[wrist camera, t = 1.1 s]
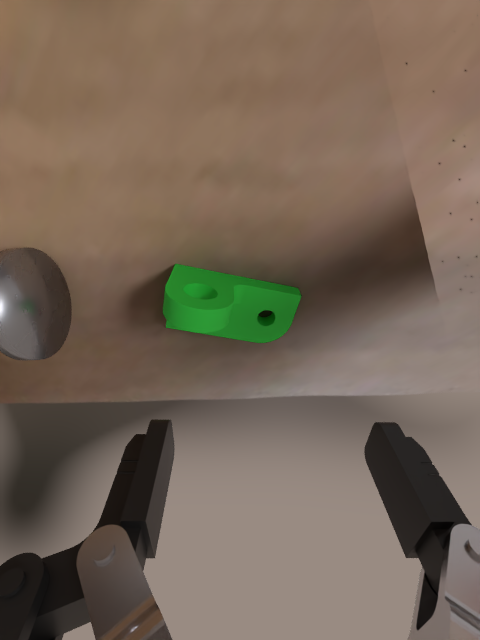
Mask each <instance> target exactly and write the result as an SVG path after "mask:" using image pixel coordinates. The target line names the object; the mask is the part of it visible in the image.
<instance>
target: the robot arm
mask: <svg viewBox="0 0 480 640" xmlns="http://www.w3.org/2000/svg"><path fill="white" fill-rule="evenodd" d="M173 459H174V438H173V430H172V422H171V420H151V421H150V424H149V427H148V430H147V434H136V435H135V436H134V437H133V438H132V440H131V441H130V442H129V443H128V444H127V446H126V448H125V451H124V454H123V457H122V459H121V463H120V465H119V468H118V471H117V474H116V476H115V479H114V482H113V485H112V488H111V490H110V493H109V496H108V499H107V501H106V505H105V507H104V510H103V513H102V515H101V518H100V521H99V523H98V524H97V526H96V528H95V529H94V530H93V532H92V533H91V534H90V535H89V536H88V537H87V538H86V539H85V540H84V541H82V542H81V543H80V544H78V545H76V546H74V547H72V548H70V549H67V550H64V551H61V552H59V553H56V554H53V555H51V556H48V557H45V558H42V559H41V558H40V557H39V556H38V555H36V554H34V553H23V554H19V555H16V556H14V557H13V558H11V559H9V560H7V561H6V562H5V563H3V564H2V565H1V566H0V640H62V637H63V634H64V633H66V632H68V631H71V630H73V629H75V628H77V627H80V626H82V625H84V624H87V623H89V622H91V624H92V628H93V631H94V635H95V639H96V640H172V638H171V635H170V633H169V630H168V628H167V626H166V623H165V621H164V619H163V616H162V614H161V612H160V609H159V607H158V605H157V604H156V602H155V600H154V597H153V595H152V592H151V590H150V588H149V585H148V583H147V580H146V578H145V575H144V573H143V570H144V565H145V560H146V558H155V554H156V549H157V543H158V538H159V533H160V528H161V523H162V517H163V512H164V507H165V502H166V496H167V491H168V486H169V480H170V475H171V470H172V464H173ZM365 459H366V462H367V465H368V467H369V470H370V472H371V474H372V477H373V479H374V482H375V484H376V487H377V489H378V491H379V494H380V496H381V498H382V501H383V503H384V506H385V508H386V510H387V513H388V515H389V518H390V520H391V523H392V525H393V527H394V530H395V532H396V534H397V537H398V539H399V542H400V544H401V547H402V549H403V552H404V554H405V556H406V558H419V560H420V562H421V564H422V569H421V572H420V577H419V583H418V590H417V595H416V601H415V607H414V613H413V620H412V625H411V630H410V634H409V637H408V640H480V529H478V528H476V527H474V526H472V525H471V523H470V522H469V521H468V519H467V518H466V516H465V514H464V513H463V511H462V510H461V508H460V506H459V505H458V503H457V501H456V500H455V498H454V497H453V495H452V493H451V492H450V490H449V489H448V487H447V485H446V484H445V482H444V481H443V479H442V478H441V477H440V476H439V473H438V471H437V469H436V468H435V466H434V465H432V462H431V460H430V458H429V457H428V455H427V453H426V452H425V450H424V449H423V448H422V447H421V446H420V445H419V444H418V443H417V442H416V441H415V440H414V439H413V438H412V437H405V435H404V433H403V432H402V430H401V428H400V427H399V425H398V424H396V423H394V422H393V423H392V422H391V423H390V422H384V423H383V422H376V423H374V425H373V427H372V430H371V432H370V435H369V437H368V440H367V443H366V445H365Z"/></svg>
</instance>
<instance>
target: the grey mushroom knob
mask: <svg viewBox="0 0 480 640" xmlns="http://www.w3.org/2000/svg"><path fill="white" fill-rule="evenodd" d="M70 323H71V299H70V294H69V290H68V286H67V283H66V281H65V278H64V276H63V274H62V272H61V270H60V269H59V267H58V266H57V265H56V263H55V262H54V261H53V260H52V259H51V258H50V257H49V256H48V255H47V254H45V253H44V252H42V251H40V250H37V249H34V248H15V249H6V250H3V251H0V351H1V352H2V353H3V354H5V355H6V356H8V357H10V358H13V359H16V360H40V359H46V358H49V357H51V356H52V355H54V354H55V353H56V352H57V351H58V350H59V349H60V348H61V347H62V345H63V344H64V342H65V340H66V338H67V335H68V332H69V328H70Z"/></svg>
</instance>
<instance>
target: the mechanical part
mask: <svg viewBox="0 0 480 640" xmlns="http://www.w3.org/2000/svg"><path fill="white" fill-rule="evenodd" d="M300 299H301V294H300V291H299V289H298V288H295V287H290V286H285V285H280V284H275V283H270V282H265V281H260V280H255V279H250V278H245V277H240V276H235V275H230V274H225V273H220V272H215V271H210V270H205V269H200V268H194V267H189V266H184V265H179V264H175V266H174V268H173V270H172V273H171V275H170V277H169V279H168V282H167V284H166V286H165V294H164V303H163V314H164V316H165V318H166V319H167V321H166V328H172V329H178V330H183V331H189V332H195V333H201V334H207V335H213V336H219V337H225V338H231V339H237V340H243V341H249V342H255V343H266V342H271V341H274V340H276V339H278V338H280V337H281V336H282V335H284V334H285V333H286V332H287V331H288V329H289V328H290V326H291V324H292V321H293V318H294V316H295V313H296V310H297V307H298V305H299V302H300ZM264 310H270V311H272V314H271V315H270V316H268V317H261V316H259V315H258V314H259V313H260V312H262V311H264Z"/></svg>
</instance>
